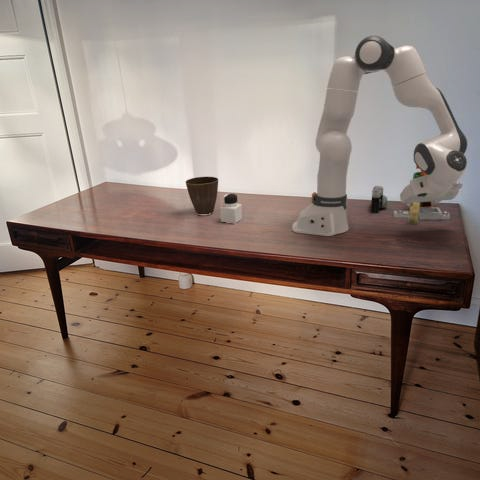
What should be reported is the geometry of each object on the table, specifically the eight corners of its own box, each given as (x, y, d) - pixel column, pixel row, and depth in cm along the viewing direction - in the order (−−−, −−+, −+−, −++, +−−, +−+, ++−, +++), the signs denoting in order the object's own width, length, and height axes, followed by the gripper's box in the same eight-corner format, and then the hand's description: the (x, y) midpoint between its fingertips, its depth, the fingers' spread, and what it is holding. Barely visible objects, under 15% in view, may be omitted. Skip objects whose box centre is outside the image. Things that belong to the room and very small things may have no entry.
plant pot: (201, 220, 189) (198, 185, 183) (182, 214, 199) (179, 181, 194) (227, 212, 198) (224, 179, 192) (207, 207, 208) (205, 175, 202)
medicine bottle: (242, 219, 188) (241, 193, 183) (235, 224, 182) (233, 197, 177) (228, 218, 190) (226, 192, 186) (220, 222, 185) (218, 196, 180)
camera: (386, 214, 184) (387, 191, 180) (369, 213, 186) (371, 191, 183) (386, 204, 197) (388, 183, 193) (371, 204, 199) (373, 183, 195)
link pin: (408, 224, 171) (410, 202, 167) (407, 221, 174) (410, 200, 170) (418, 224, 170) (420, 202, 166) (417, 221, 173) (419, 200, 170)
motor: (427, 213, 182) (433, 167, 175) (406, 210, 187) (410, 165, 180) (434, 207, 189) (439, 162, 182) (413, 204, 195) (417, 161, 187)
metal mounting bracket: (394, 219, 177) (394, 211, 176) (393, 213, 184) (393, 206, 183) (450, 221, 171) (451, 213, 170) (447, 215, 178) (448, 207, 177)
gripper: (461, 175, 153) (444, 194, 166) (406, 179, 152) (393, 198, 165) (467, 190, 150) (449, 209, 163) (411, 194, 150) (397, 213, 162)
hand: (421, 203), depth 164 cm, fingers open, 8 cm apart
